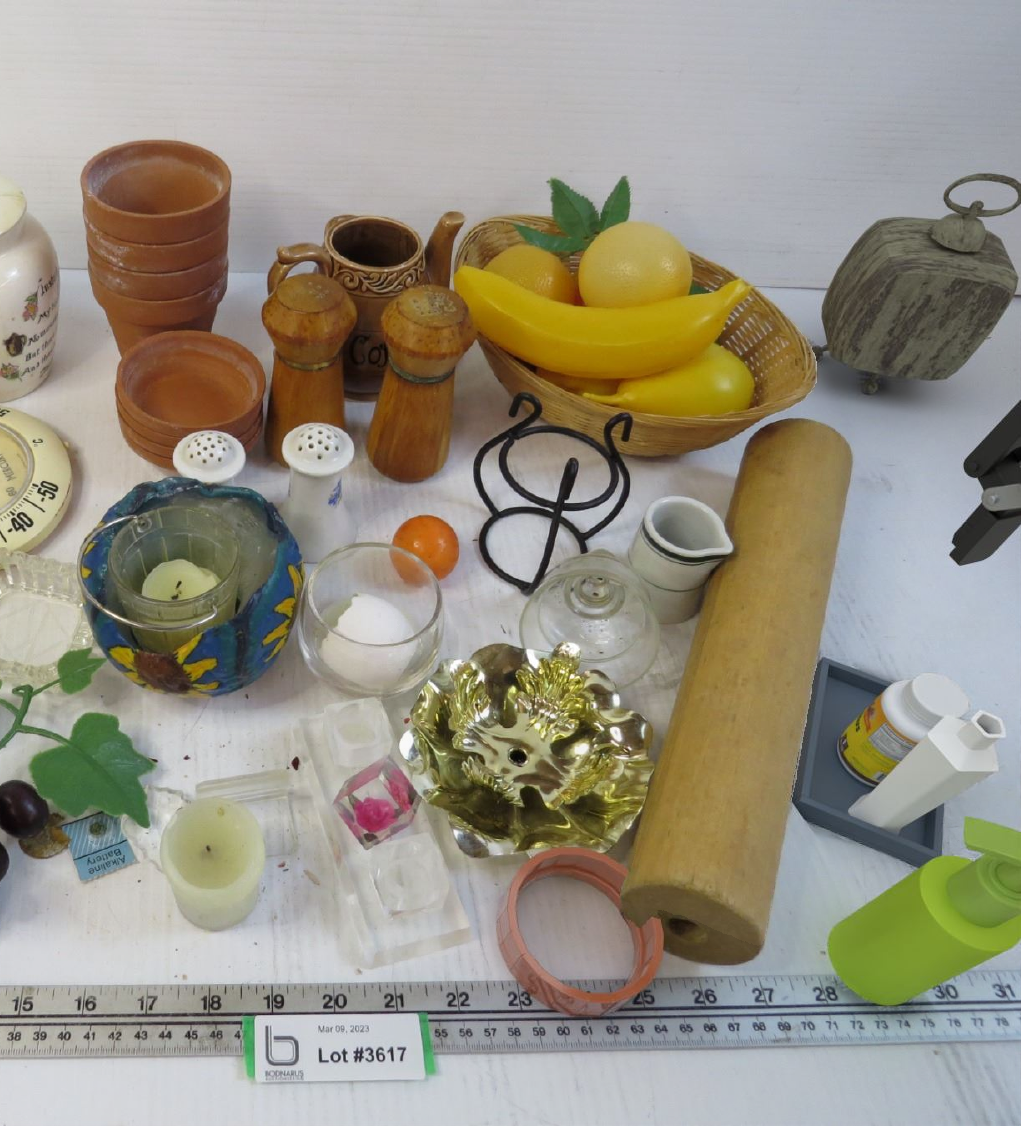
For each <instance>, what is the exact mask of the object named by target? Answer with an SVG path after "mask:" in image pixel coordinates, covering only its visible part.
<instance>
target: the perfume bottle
mask: <svg viewBox="0 0 1021 1126" xmlns="http://www.w3.org/2000/svg"><path fill="white" fill-rule="evenodd" d="M1004 738H1007V732H1006V728H1005V723H1004V721H1003V720H1002V719H1001V718H1000V717H998V716H996V715H994V714H992V713H989V712H987V711H985V710H983V709H980V710H978V711H977V712H976V713H975V714H974V715H972V717H971V718H970V720H969V721H968V722H967V721H965V720H963V719H962V720H960V719H958V718H956V717H954V716H952V715H949V714H947V715H945V717H944V718H943V719H942V720H941V721H940V722H939V723H938V724H937V725H936V726H935V727H934V728H933V729H932V730H931V731H930V732H929V733H928V734H927V735H926V736H925V737H924V738H923V739H922V740H921V741H920V742H919V743H918V744H917V745H916V746H915V747H914V748H913V749H912V750H911V751H910V752H909V753H908V755H907V756H906V757H905V758H904V759H903V760H902V761H901V762H900V763H899V764H898V765H897V766H896V767H895V768H894V769H893V770H892V771H891V772H890V773H889V774H888V775H887V776H886V777H885V779H884V780H883V781H882V782H881V783H880V784H879V785H878V786H877V787H876V788H875V789H874V790H873V791H872V792H871V793H869V794H866V795H863V796H861V797H860V798H859V799H858V800H857V801H856V802H855V803H854V804H853V805H852V806H851V807H850V808H849V809H848V813H849V814H850V816H853V817H855V818H858V819H860V820H862V821H865V822H867V823H870V824H872V825H874V826H877V827H879V828H881V829H884V830H886V831H889V832H891V833H893V834H896V835H898V834H899V832H900V830H901V828H902V827H904V826H906V825H907V824H909V823H911V822H912V821H914V820H916V819H917V818H919V817H921V816H922V815H924V814H926V813H928V812H929V811H931V810H933V809H934V808H936V807H938V806H939V805H941V804H943V803H944V804H945V803H946V802H948V801H950V800H951V799H954V797H956V796H958V795H960V794H961V793H963V792H965V791H967V790H968V789H971V788H972V787H973V786H975V785H976V784H978V783H980V782H982V781H983V780H986V779H987V778H989V777H990V776H992V775H994V774H995V773H997V772H998V771H999V770H1000V766H999V762H998V756H997V752H996V747H995V743H996V742H997V741H998V740H1000V739H1004Z"/></svg>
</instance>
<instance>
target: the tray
mask: <svg viewBox="0 0 1021 1126" xmlns="http://www.w3.org/2000/svg"><path fill="white" fill-rule="evenodd" d="M816 664H817V668H816V671H815V675H814V680H813V684H812V694H811V700H810V704H809V709H808V714H807V723H806V727H805V731H804V737H803V743H802V749H801V756H800V760H799V766H798V770H797V780H796V783H795V788H794V792H793V797H792V801H791V803H792V805H793V806H794V807H795V809H796V810H797V812H798V813H799V814H800V816H801V817H802V819H803V820H805V821H808V822H810V823H812V824H815V825H816V826H820V827H822V828H824V829H825V830H829V831H831V832H833V833H836V834H838V835H840V836H842V837H845V838H848V839H849V840H852V841H855V842H857V843H859V844H862V845H864V846H866V847H869V848H871V849H872V850H873V849H874V850H876V851H878V852H881V853H883V854H885V855H888V856H889V857H893V858H895V859H897V860H899V861H902V862H904V863H906V864H909V865H911V866H913V867H916V868H917V869H918V868H920V867H921V866H923V865H924V864H926V863H927V862H929V861H930V860H932V859H934V858H936V857H940V856H943V837H944V836H943V835H944V819H945V817H944V816H945V802H944V803H943V804H941V805H939V806H938V807H936V808H934V809H933V810H931V811H929V812H928V813H926V814H924V815H922V816H921V817H919V818H917V819H916V820H914V821H912V822H911V823H909V824H907V825H906V826H904V827H902V828H901V830H900V832H899V834H898V835H896V834H893V833H891V832H889V831H886V830H884V829H881V828H879V827H877V826H874V825H872V824H870V823H867V822H865V821H862V820H860V819H858V818H855V817H853V816H850V814H849V813H848V809H849V808H850V807H851V806H852V805H853V804H854V803H855V802H856V801H857V800H858V799H859V798H860V797H861V796H863V795H866V794H869V793H871V792H872V791H873V790H874V789H875V788H876V787H872V786H869V785H867V784H865V783H863V782H861V781H859V780H858V779H856V778H855V777H854V776H853V775H851V774H850V773H849V772H848V771H847V770H846V768H845V767H844V766H843V764H842V762H841V761H840V759H839V756H838V752H837V743H838V739H839V737H840V735H841V734H842V733H843V732H844V731H845V730H846V729H847V728H848V727H849V726H850V725H851V724H852V723H853V722H854V721H855V720H856V719H857V717H858V716H859V715H861V713H862V712H863V711H864V710H865V709H866V708H867V707H868V706H869V705H870V704H871V703H872V702H873V701H874V700H875V699H876V698H877V697H878V696H879V695H880V694H881V693H882V692H883V691H884V690H885V689H886V688H888V687H889V686H890V685H891V684H893V683H894V682H891V681H889V680H886V679H884V678H880V677H878V676H876V675H873V674H870V673H867V672H865V671H862V670H860V669H857V668H854V667H852V666H849V665H847V664H844V663H841V662H838V661H836V660H834V659H831V658H828V657H825V656H822V657H821V658H820V659H819V661H818V662H817V663H816Z"/></svg>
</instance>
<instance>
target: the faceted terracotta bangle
mask: <svg viewBox="0 0 1021 1126" xmlns="http://www.w3.org/2000/svg"><path fill="white" fill-rule="evenodd" d="M628 870H629V868H627V867H626V866H624V865H623V864H621V863H619V862H618V861H616V860H615V859H614V858H612V857H610V856H608V855H607V854H604V853H602V852H600V851H599V852H598V851H595V850H592V849H589V848H586V847H582V846H557V847H553V848H548V849H547V850H546V849H545V850H544V851H540V852H538V853H536V854H535V855H534V856H533V857H531V858H530V859H528V860H527V861H526V862H525V863H523V864H522V865H521V866H520V868H519V870H518V871H517V872H516V874H515V876H514V877H513V879H512V880H511V882H510V884H509V885H508V887H507V889H506V890H505V892H504V894H503V895H502V897H501V899H500V901H499V903H498V908H497V909H498V910H497V915H496V920H495V929H496V937H497V943H498V944H497V945H498V948H499V951H500V953H501V956H502V959H503V960H504V962H505V965H506V967H507V969H508V971H509V973H510V974H511V975H512V976H513V978H514V979H515V980H516V982H517V983H518V985H520V986H521V987H522V989H523V990H524V991H525V992H526V993H527V994H528V995H530V996H531V997H532V998H534V999H535V1000H537V1001H538V1002H539V1003H541V1004H542V1005H543V1006H545V1007H546V1008H548V1009H550V1010H553V1011H556V1012H559V1013H562V1014H564V1015H567V1016H571V1017H574V1018H600V1017H603V1016H604V1015H608V1014H611V1013H613V1012H617V1011H619V1010H621V1009H622V1008H623V1007H624V1006H626V1005H627V1004H628V1003H629V1002H630V1001H631V1000H632V999H633V998H635V997H636V996H638V995H639V993H641V991H643V990H644V989H645V988H646V987H647V986H648V985H650V983H652V982H653V980H654V979H655V977H656V975H657V972H658V970H659V968H660V966H661V964H662V962H663V958H664V957H663V956H664V944H665V943H664V941H665V933H664V929H663V926H662V921H661V918H660V919H657V918H654V917H651V918H650V919H649V920H647V922H646V924H645V925H643V926H642V928H641V929H640V928H638V927H636V925H635V923H634V922H631V920H628V919H626V917H625V916H624V915H623V914H622V911H621V907H620V901H619V900H620V899H619V897H620V893H621V887H622V885H623V882H624V880H625V878H626V873H627V871H628ZM549 877H566V878H572V879H574V880H577V881H580V882H584V883H587V884H589V885H590V886H592V887H594V888H595V889H596V890H598V891H599V892H601V893H602V894H604V895H606V897H607V898H608V899H609V900H610V901H611V902H612V903H613V904H614V905H615V907H617V908H618V910H619V911H620V912H621V915H622V916H623V918H624V920H625V922H626V925H627V926H628V928H629V930H630V935H631V939H632V943H633V948H634V953H633V963H632V970H631V971H630V974H629V976H628V978H627V980H626V982H625V984H624V985H623V987H621V988H620V989H619V990H615V991H612V992H610V993H609V992H587V991H584V990H581V989H579V988H575V987H572V986H570V985H567V984H565V983H563V982H562V981H560V980H559V979H558V978H556V977H555V976H553V975H552V974H550V973H549V972H547V971H546V970H545V969H544V968H543V966H541V964H540V963H539V962H538V961H537V960H536V958H535V957H534V956H533V955H532V954H531V952H530V950H529V949H528V947H527V945H526V942H525V940H524V938H523V936H522V934H521V931H520V929H519V927H520V926H519V922H518V921H519V920H518V914H517V903H518V897H519V895H520V893H521V892H522V891H523V890H524V889H527V887H528V886H530V885H531V884H532V883H534V882H537V881H539V880H543V879H546V878H549Z"/></svg>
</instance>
